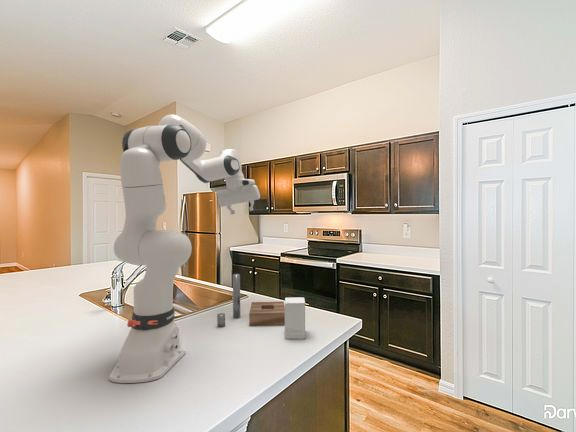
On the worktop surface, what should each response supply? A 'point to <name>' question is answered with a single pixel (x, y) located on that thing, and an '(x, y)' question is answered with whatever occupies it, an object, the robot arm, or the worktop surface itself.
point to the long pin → (236, 296)
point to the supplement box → (295, 318)
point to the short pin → (221, 320)
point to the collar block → (267, 313)
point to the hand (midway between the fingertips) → (242, 212)
